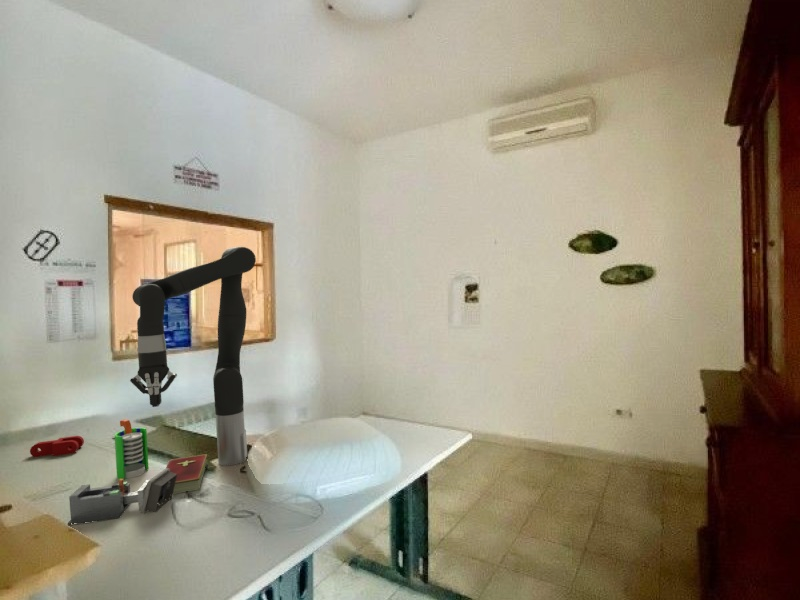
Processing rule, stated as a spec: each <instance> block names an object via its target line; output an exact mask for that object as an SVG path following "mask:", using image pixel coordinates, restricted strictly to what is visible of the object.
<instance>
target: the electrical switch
mask: <svg viewBox="0 0 800 600" xmlns="http://www.w3.org/2000/svg"><path fill="white" fill-rule="evenodd" d="M169 471H170V469H169V468H166V467H165V469H163V470H162V471H160V472H159V473H157V474H156V475H155V476H153V477H152V478H150V479H148V480H149V481H148V483H147V486H146V490H145V495H144V499H143V504H142V508H141V511H140V513H142V514H146V513H147V512H150V513H151V512H152V513H157V512H158V511H159V510H161V508H163V507H164V506H165V505H166V504H168V503H169V502H170V501H171V500H172V499H173V495H174V494H173V491H174V486H175V482H176V477H177V474H175V473H172V472H169ZM170 482H171V483H170ZM169 484H170V486H169Z"/></svg>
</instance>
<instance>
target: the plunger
mask: <svg viewBox="0 0 800 600" xmlns="http://www.w3.org/2000/svg"><path fill="white" fill-rule="evenodd" d="M149 480H150V479H146V480H145V481H144V483H142V485H141V486H140V487H139V489H138V490H137V491H130V493H124V484H123V482H124V480H123V479H118V483H119V490H120V492H122V493H123V504H130V503H131V504H136V503H137V504H138V505H137V506H138V511H139V512H141V508H142V504H143V499H144V495H145V490H146V486H147V483H148V481H149ZM131 504H130V505H131Z"/></svg>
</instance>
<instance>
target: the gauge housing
mask: <svg viewBox="0 0 800 600" xmlns="http://www.w3.org/2000/svg"><path fill="white" fill-rule="evenodd" d="M123 484H124V493H130V492H131V483H130V482H129V483H128V481H123ZM68 498H69V499H68V500H69V511H70V513H69V515H70V520H69V521H68V522H67V526H68V525H69V527H70V526H72V525H71V523H72V524H74V523H83V524H86V523H85V522H90V523H93V522H92V521H97V522H102V521H109V520H110V521H111V520H117V519H120V518H121V517H122V515H124V513H125V512H126V511H127V509H128V508H129V506H130V505H131V504H132V503H130V504H123V493H122V492H120V490H119V482H114V483H113V484H112V485H108V486H100V487H93V488H92V487H91V484H84V485H83V484H82V485H81V486H80V487H78V488H77V489H76V490H75V491H74V492H73V493H72V494H71V495H69V496H68ZM124 511H125V512H124ZM120 516H121V517H120Z"/></svg>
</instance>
